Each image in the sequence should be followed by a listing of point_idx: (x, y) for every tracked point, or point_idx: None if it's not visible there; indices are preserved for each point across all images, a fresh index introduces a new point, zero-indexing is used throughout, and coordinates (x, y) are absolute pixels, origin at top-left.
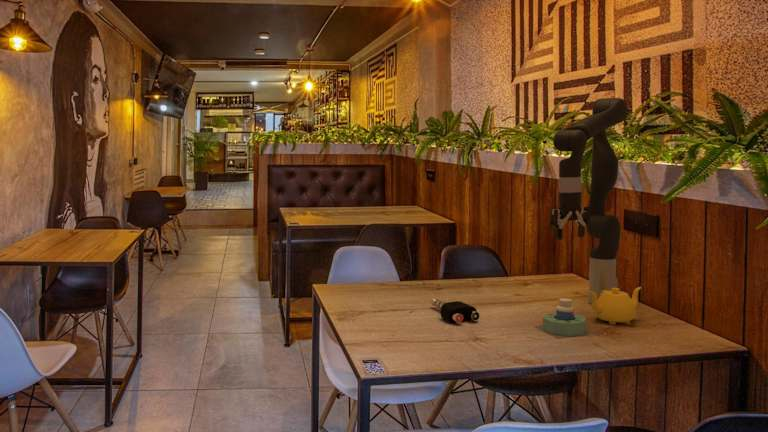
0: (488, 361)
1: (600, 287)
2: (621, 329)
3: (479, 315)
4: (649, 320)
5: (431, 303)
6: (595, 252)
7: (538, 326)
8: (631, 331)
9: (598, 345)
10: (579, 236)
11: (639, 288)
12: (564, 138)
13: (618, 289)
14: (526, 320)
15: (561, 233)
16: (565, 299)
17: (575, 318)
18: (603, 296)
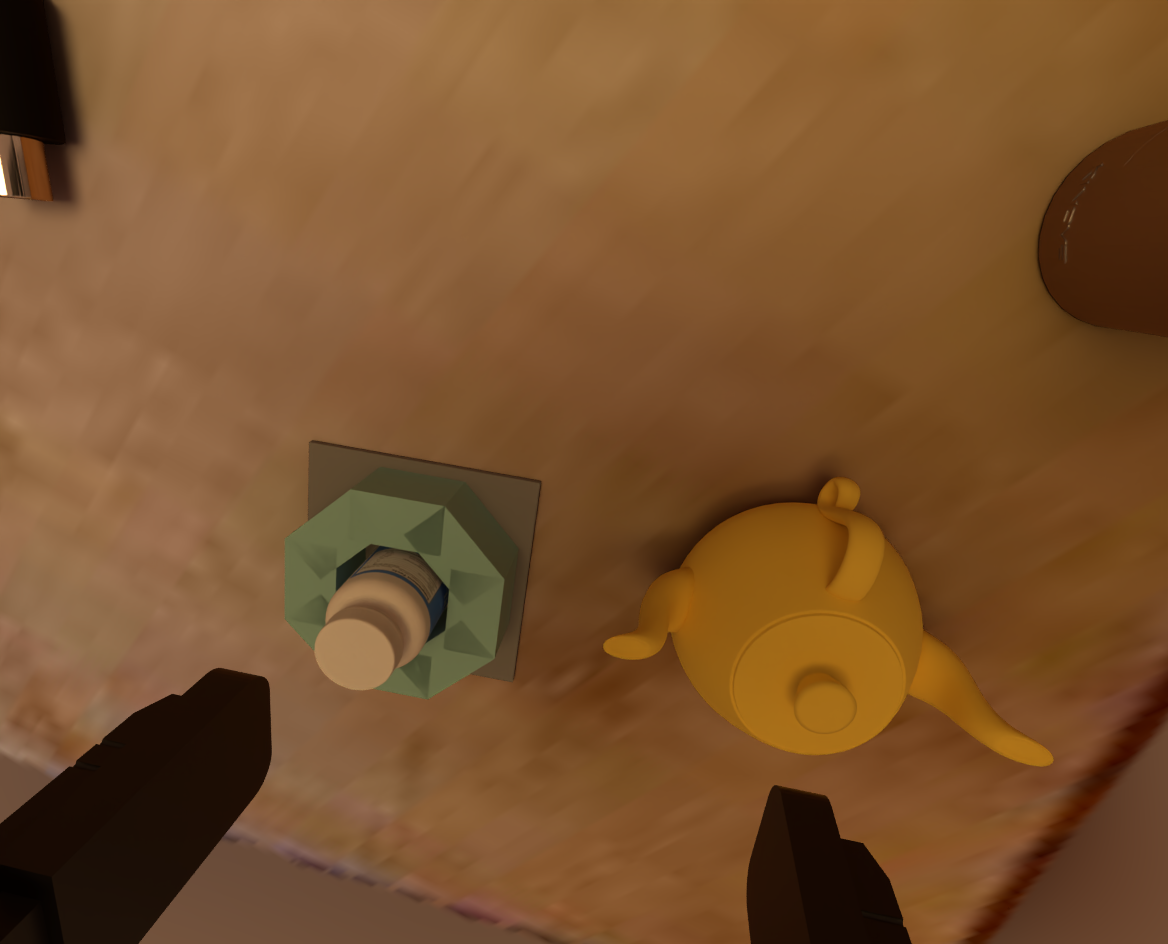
0: None
1: (1147, 295)
2: (690, 682)
3: (40, 199)
4: (965, 661)
5: None
6: None
7: (335, 457)
8: (703, 723)
9: (416, 762)
10: (763, 827)
11: (1029, 753)
12: None
13: (822, 732)
14: (361, 309)
15: (148, 891)
16: (358, 651)
17: (435, 637)
18: (723, 649)
